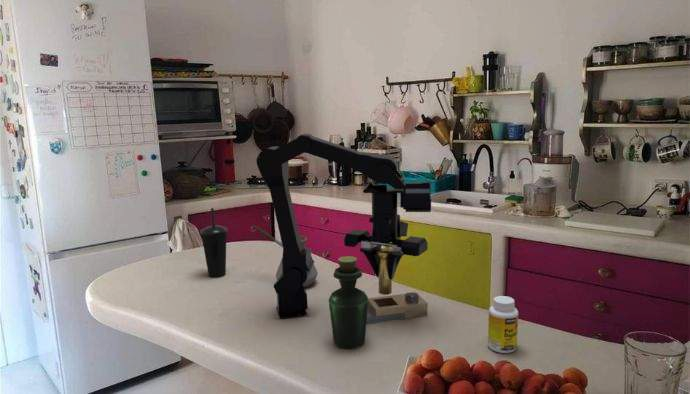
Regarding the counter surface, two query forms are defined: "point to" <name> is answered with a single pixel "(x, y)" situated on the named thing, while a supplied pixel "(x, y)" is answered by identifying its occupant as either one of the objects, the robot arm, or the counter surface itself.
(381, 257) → the pin
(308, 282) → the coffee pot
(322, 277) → the counter surface
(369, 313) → the knobbed window plate
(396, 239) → the robot arm
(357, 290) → the potion bottle
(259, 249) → the counter surface
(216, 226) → the drinking cup
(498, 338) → the supplement bottle
